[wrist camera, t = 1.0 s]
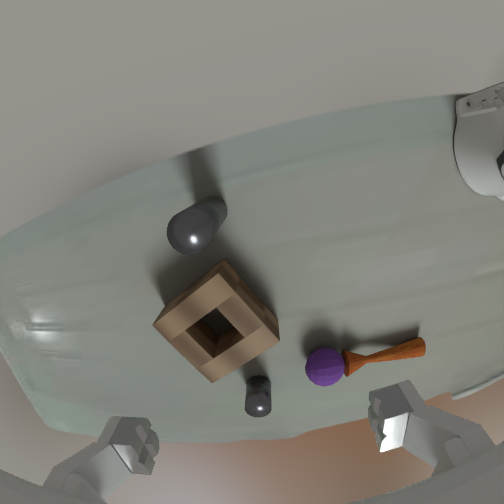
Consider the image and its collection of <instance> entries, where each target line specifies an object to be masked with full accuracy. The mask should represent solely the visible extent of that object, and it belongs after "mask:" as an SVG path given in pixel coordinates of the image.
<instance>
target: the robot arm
mask: <svg viewBox="0 0 504 504" xmlns="http://www.w3.org/2000/svg"><path fill="white" fill-rule="evenodd" d="M467 103H468V106H467ZM456 114H457V125H456V130H455V136H454V151H455V157H456V161H457V165H458V168H459V170H460V173H461V175H462V177H463V178H464V180H465V182H466V183H467V184H468V185H469V186H470V188H472V189H473V190H474V191H475V192H477V193H479V194H481V195H485V196H496V197H497V198H499V199H500V200H502V201H504V82H502V83H499V84H496V85H493V86H491V87H488V88H485V89H483V90H480V91H478V92H475V93H472V94H470V95H467V96H465V97H462V98H460V99H458V100H457V101H456ZM369 401H370V403H371V405H370V406H369V408H368V417H369V423H370V427H371V429H372V431H373V432H375V433H376V442H377V445H378V447H379V450H380V452H383V451H387V450H390V449H393V448H397V447H400V446H403V447H404V448H405V449H407V450H408V451H409V452H411V453H413V454H414V455H416V456H417V457H419V458H420V459H422V460H423V461H425V462H426V463H428V464H430V465H431V466H433V467H434V468H435V469H434V471H433V474H432V476H431V477H430V478H428V479H425V480H423V481H420V482H417V483H415V484H412V485H409V486H406V487H403V488H401V489H398V490H394V491H391V492H388V493H385V494H382V495H378V496H375V497H371V498H367V499H364V500H360V501H355V502H352V503H347V504H504V441H503V442H502V443H500V444H498V445H496V446H495V444H494V443H493V441H492V440H491V439H490V437H489V436H488V434H487V433H486V432H485V430H484V429H483V428H482V426H481V425H479V424H477V423H474V422H472V421H469V420H466V419H464V418H461V417H459V416H456V415H453V414H451V413H448V412H446V411H443V410H441V409H438V408H436V407H433V406H428V407H427V405H426V404H425V402H424V401H423V399H422V398H421V396H420V395H419V393H418V392H417V390H416V389H415V387H414V386H413V384H412V383H411V381H409V380H406V381H403V382H400V383H397V384H394V385H391V386H387V387H384V388H380V389H376V390H373V391H370V393H369ZM150 427H151V423H150V421H149V420H148V419H147V418H138V417H119V416H112V417H111V418H110V419H109V421H108V423H107V424H106V426H105V428H104V430H103V432H102V434H101V436H100V437H99V439H98V441H97V443H92V444H90V445H89V446H87V447H86V448H84V449H82V450H81V451H79V452H78V453H76V454H74V455H73V456H71V457H69V458H68V459H66V460H65V461H63V462H61V463H60V464H58V465H56V466H55V467H53V469H52V471H51V472H50V474H49V476H48V477H47V479H46V481H45V483H44V484H43V486H39V485H36V484H34V483H31V482H29V481H26V480H24V479H21V478H19V477H16V476H14V475H12V474H9V473H7V472H5V471H3V470H1V469H0V504H107V503H106V502H105V501H104V500H105V499H106V498H107V497H108V496H109V495H110V494H112V493H113V492H114V491H115V490H116V489H117V488H118V487H119V486H120V485H121V484H122V483H123V482H124V481H126V480H127V479H128V478H129V477H130V476H131V475H132V474H131V473H133V474H145V475H151V473H152V470H153V467H154V464H155V462H154V460H153V458H154V457H155V456H156V455H157V454H158V451H159V439H158V436H157V434H156V432H154V431H153V430H151V429H150Z"/></svg>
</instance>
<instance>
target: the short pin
mask: <svg viewBox="0 0 504 504" xmlns="http://www.w3.org/2000/svg"><path fill="white" fill-rule="evenodd" d="M245 411H246V412H247V414H249V415H250V416H253V417H264V416H266V415H268V414H269V413H270V412H271V382H270V380H269V379H268V378H266V377H264V376H259V375H258V376H253V377H251V378H250V379H249V380H248V381H247V388H246V400H245Z"/></svg>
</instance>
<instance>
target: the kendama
mask: <svg viewBox="0 0 504 504" xmlns="http://www.w3.org/2000/svg"><path fill="white" fill-rule="evenodd" d="M425 351H426V346H425V342H424V340H423V339H422V338H421V337H418V338H416V339H413V340H411V341H408V342H405V343H403V344H400V345H397V346H394V347H392V348H389V349H386V350H383V351H380V352H377V353H374V354H371V355H368V356H363V355H360V354H356V353H352V352H348V351H345V350H344V351H343V352H342V356H341V354H340V353H338V352H337V351H336V350H334V349H330V348H321V349H318V350H316V351H315V352H313V353H312V354H311V355H310V357H309V358H308V359H307V362H306V366H305V371H306V374H307V376H308V378H309V379H310V381H312V382H313V383H314V384H316V385H319V386H329V385H332V384H334V383H335V382H337V381H339V380H340V378H341V377H342V375H343V373H344V374H345V376H349V375H350V374H352V373H353V372H355V371H356V370H358V369H359V368H360V367H362V366H363V365H364V364H366V363H370V362H380V361H390V360H398V359H406V358H414V357H421V356H424V354H425Z"/></svg>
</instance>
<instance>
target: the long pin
mask: <svg viewBox="0 0 504 504" xmlns="http://www.w3.org/2000/svg"><path fill="white" fill-rule="evenodd" d="M226 216H227V206H226V204H225V203H224V201H223V200H222V199H220V198H218V197H215V196H210V197H206V198H205V199H203V200H201V201H199V202H197V203H195V204H194V205H192V206H190V207H188V208H187V209H185V210H183V211H181V212H180V213H178V214H176V215H175V216H174V217H173V218H172V219H171V220H170V222H169V224H168V227H167V237H168V240H169V242H170V244H171V246H172V247H173V248H174V249H175V250H176V251H178V252H180V253H182V254H187V255H192V254H196V253H198V252H200V251H202V250H203V249H204V248H205V247H206V245H207V244H208V242H209V241H210V240H211V238H212V237H213V235H214V234H215V233H216V231H217V230H218V228H219V227H220V226H221V224H222V223H223V221H224V220H225V218H226Z"/></svg>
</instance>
